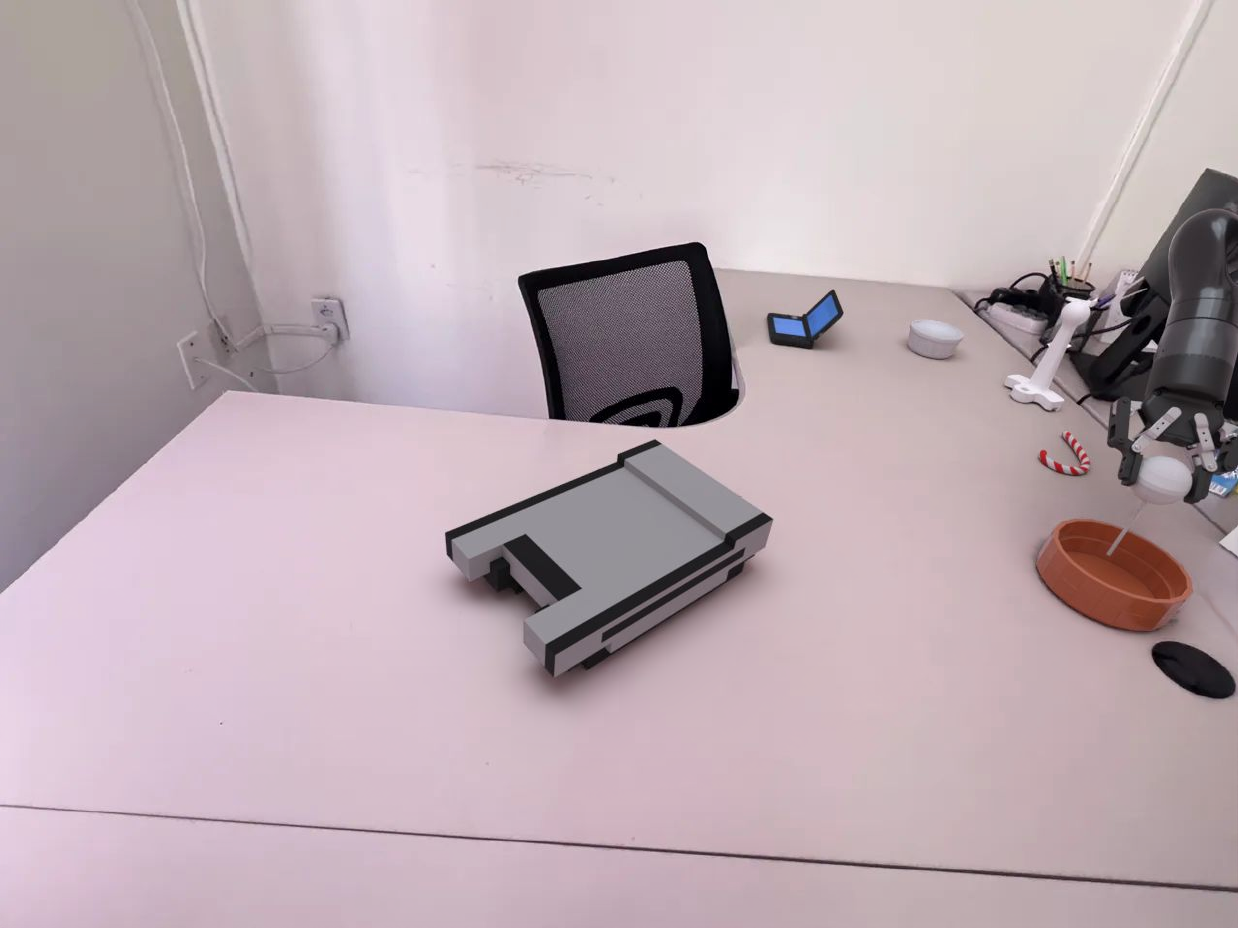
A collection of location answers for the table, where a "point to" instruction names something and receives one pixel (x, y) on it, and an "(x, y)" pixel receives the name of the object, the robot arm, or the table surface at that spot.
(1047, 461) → the candy cane
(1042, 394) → the joystick
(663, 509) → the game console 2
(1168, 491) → the lollipop
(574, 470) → the table surface
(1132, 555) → the bowl
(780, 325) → the game console
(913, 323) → the ramekin
